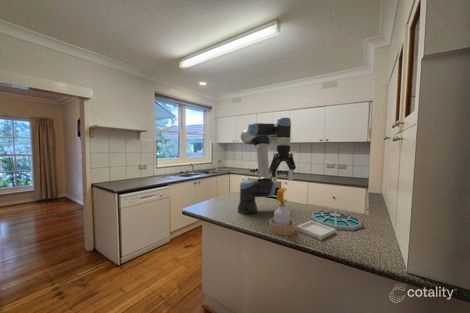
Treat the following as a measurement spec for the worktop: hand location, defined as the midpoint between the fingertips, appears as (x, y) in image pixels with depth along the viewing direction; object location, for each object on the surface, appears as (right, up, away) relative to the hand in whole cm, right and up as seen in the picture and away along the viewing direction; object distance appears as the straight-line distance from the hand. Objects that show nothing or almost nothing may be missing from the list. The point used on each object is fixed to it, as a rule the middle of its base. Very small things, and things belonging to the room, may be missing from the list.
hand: (282, 181), depth 111 cm
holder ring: (0, -29, +2) cm, 29 cm away
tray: (+19, -29, -1) cm, 34 cm away
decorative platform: (+39, -29, +16) cm, 51 cm away
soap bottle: (0, -29, +2) cm, 29 cm away
